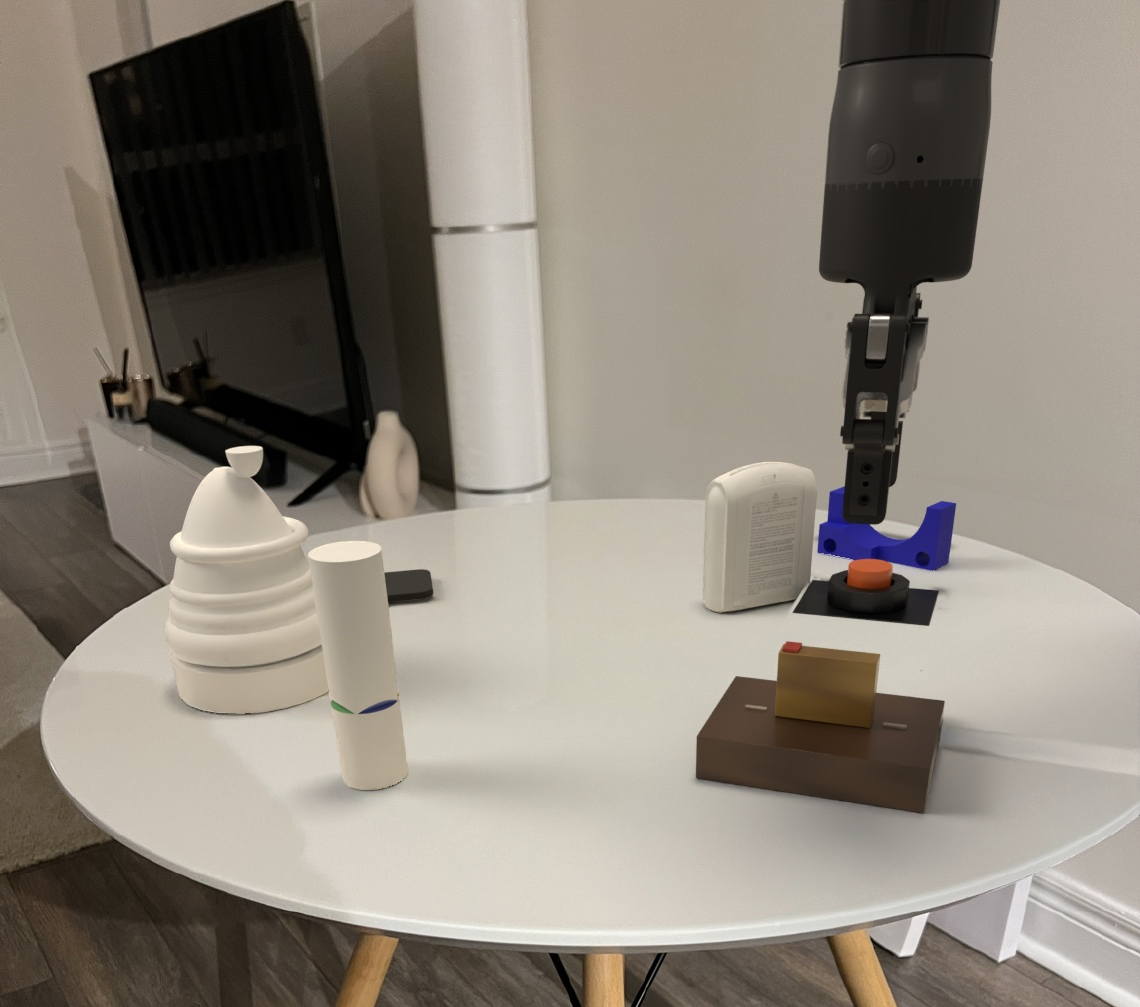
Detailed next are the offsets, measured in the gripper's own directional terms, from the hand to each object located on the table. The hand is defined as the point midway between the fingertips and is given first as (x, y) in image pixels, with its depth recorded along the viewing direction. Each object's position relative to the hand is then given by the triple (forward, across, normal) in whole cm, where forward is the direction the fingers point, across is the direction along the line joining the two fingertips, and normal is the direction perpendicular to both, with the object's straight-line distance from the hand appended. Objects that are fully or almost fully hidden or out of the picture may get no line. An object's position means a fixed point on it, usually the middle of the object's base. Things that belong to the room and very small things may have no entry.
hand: (870, 502), depth 60 cm
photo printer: (+17, +31, +11) cm, 37 cm away
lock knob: (+14, +1, +2) cm, 14 cm away
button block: (+17, +29, +1) cm, 33 cm away
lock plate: (+17, +2, +2) cm, 17 cm away
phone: (+17, +24, +48) cm, 57 cm away
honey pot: (+18, +4, +46) cm, 49 cm away
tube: (+18, -8, +29) cm, 35 cm away
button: (+14, +29, +1) cm, 32 cm away
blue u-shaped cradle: (+17, +47, +1) cm, 50 cm away
